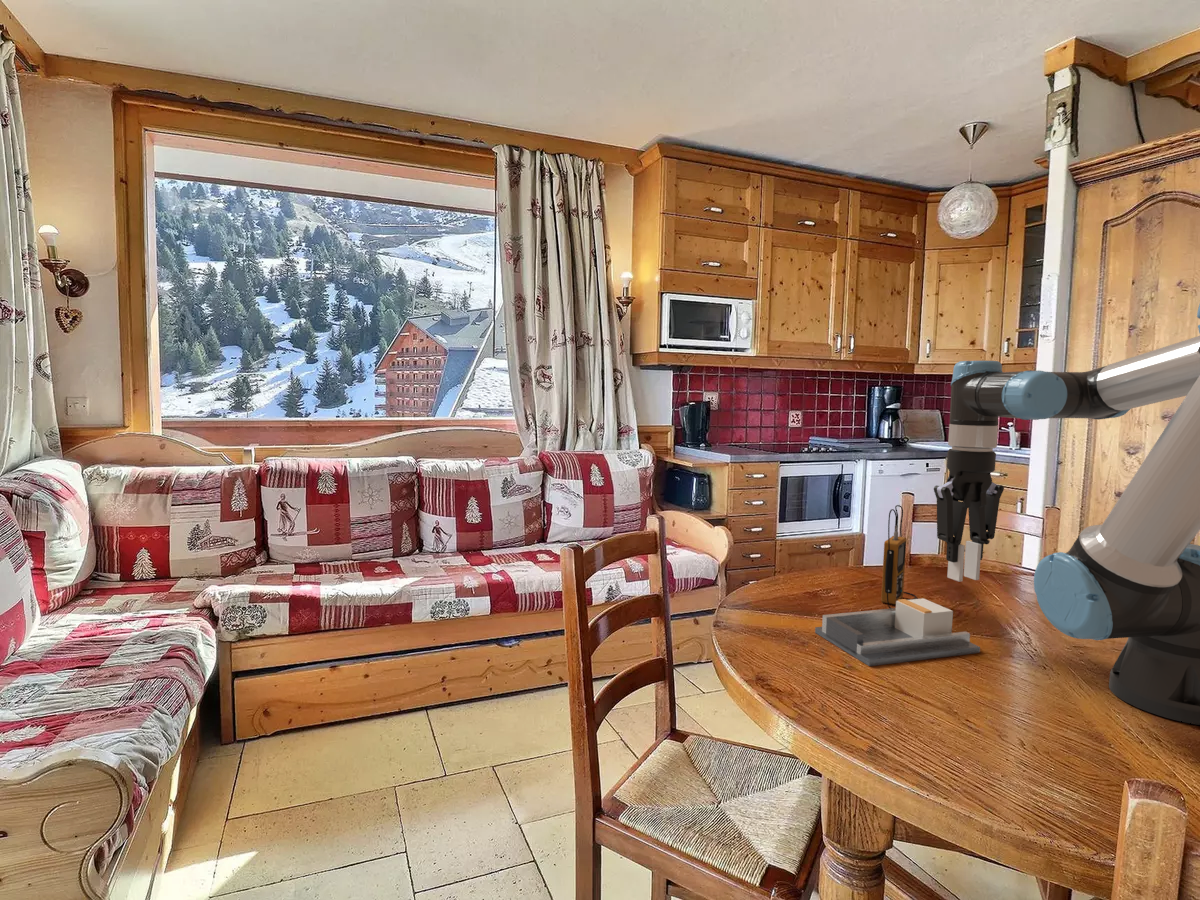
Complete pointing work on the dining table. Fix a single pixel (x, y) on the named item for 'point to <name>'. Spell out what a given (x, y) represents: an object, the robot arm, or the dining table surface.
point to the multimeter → (894, 565)
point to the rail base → (888, 639)
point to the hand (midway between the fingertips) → (963, 578)
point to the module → (922, 618)
